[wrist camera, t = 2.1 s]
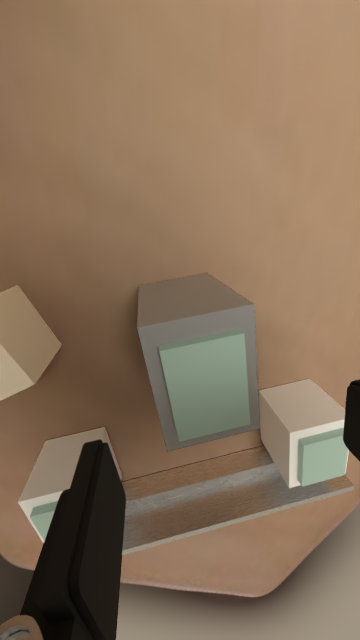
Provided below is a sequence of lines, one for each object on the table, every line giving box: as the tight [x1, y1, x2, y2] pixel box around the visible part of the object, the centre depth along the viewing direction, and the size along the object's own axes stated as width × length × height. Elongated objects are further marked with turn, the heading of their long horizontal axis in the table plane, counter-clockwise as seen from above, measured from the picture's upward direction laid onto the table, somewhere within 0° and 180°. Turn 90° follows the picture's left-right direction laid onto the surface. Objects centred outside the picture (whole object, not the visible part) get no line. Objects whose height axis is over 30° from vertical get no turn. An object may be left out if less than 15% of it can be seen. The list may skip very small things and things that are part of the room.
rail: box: [121, 445, 354, 555], centre depth 22 cm, size 2×26×5 cm, turn 100°
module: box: [137, 273, 260, 452], centre depth 15 cm, size 7×5×8 cm
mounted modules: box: [18, 379, 349, 543], centre depth 20 cm, size 6×24×6 cm, turn 100°
